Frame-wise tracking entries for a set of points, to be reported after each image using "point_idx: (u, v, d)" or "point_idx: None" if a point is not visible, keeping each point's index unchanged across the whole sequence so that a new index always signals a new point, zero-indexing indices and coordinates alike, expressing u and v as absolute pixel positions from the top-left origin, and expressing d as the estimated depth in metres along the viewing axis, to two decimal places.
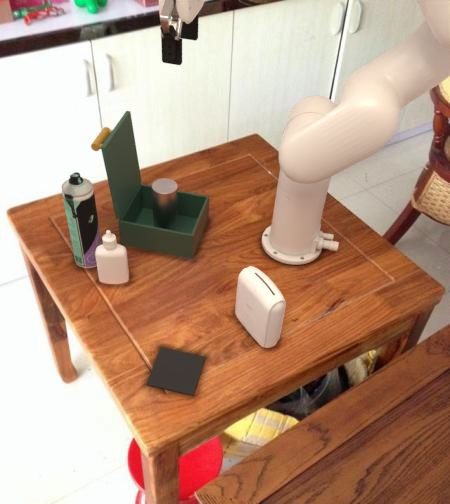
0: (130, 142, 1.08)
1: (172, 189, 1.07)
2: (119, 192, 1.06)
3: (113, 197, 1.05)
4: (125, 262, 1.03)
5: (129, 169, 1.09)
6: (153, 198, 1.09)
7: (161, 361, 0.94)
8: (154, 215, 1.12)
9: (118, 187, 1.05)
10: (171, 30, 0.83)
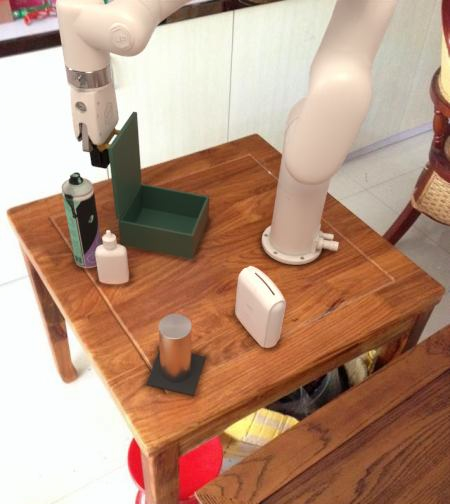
0: (134, 143, 1.08)
1: (185, 332, 0.84)
2: (121, 192, 1.06)
3: (115, 197, 1.05)
4: (125, 262, 1.03)
5: (132, 170, 1.09)
6: (160, 340, 0.86)
7: None
8: (161, 357, 0.89)
9: (121, 188, 1.05)
10: (94, 146, 1.01)
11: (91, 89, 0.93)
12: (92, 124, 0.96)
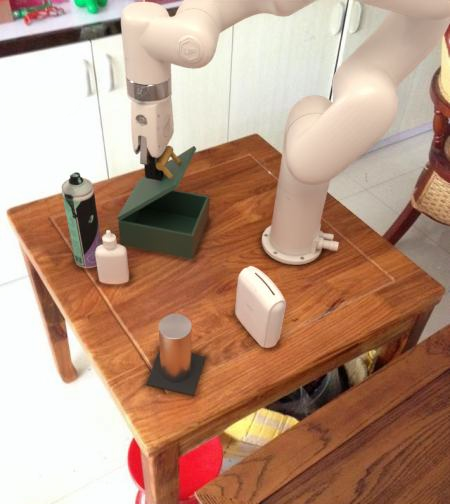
0: None
1: (185, 332, 0.84)
2: None
3: (136, 209, 1.05)
4: (125, 262, 1.03)
5: None
6: (160, 340, 0.86)
7: None
8: (161, 357, 0.89)
9: None
10: (151, 158, 1.01)
11: (152, 102, 0.92)
12: (152, 137, 0.95)
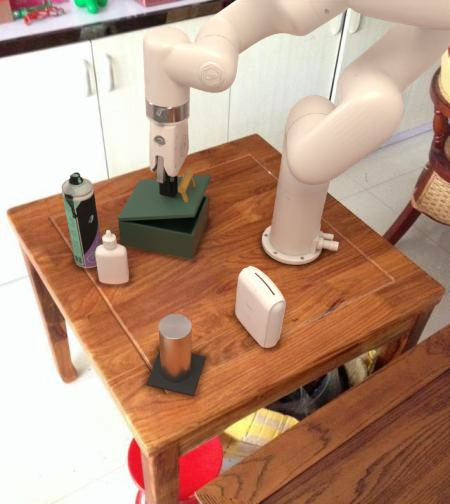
0: None
1: (185, 332, 0.84)
2: None
3: (142, 218, 1.07)
4: (125, 262, 1.03)
5: None
6: (160, 340, 0.86)
7: None
8: (161, 357, 0.89)
9: None
10: (167, 177, 1.03)
11: (171, 123, 0.94)
12: (169, 157, 0.97)
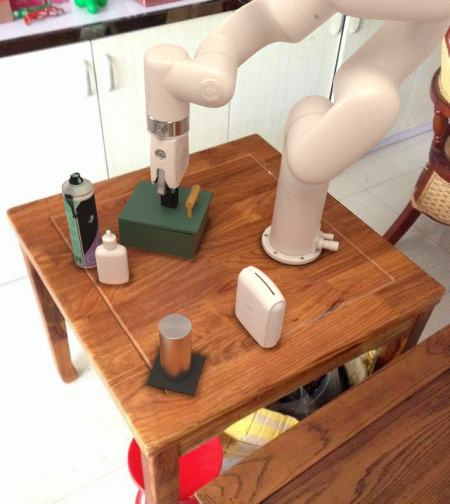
0: None
1: (185, 332, 0.84)
2: None
3: (143, 224, 1.08)
4: (125, 262, 1.03)
5: None
6: (160, 340, 0.86)
7: None
8: (161, 357, 0.89)
9: None
10: (168, 189, 1.05)
11: (171, 137, 0.96)
12: (170, 170, 0.99)
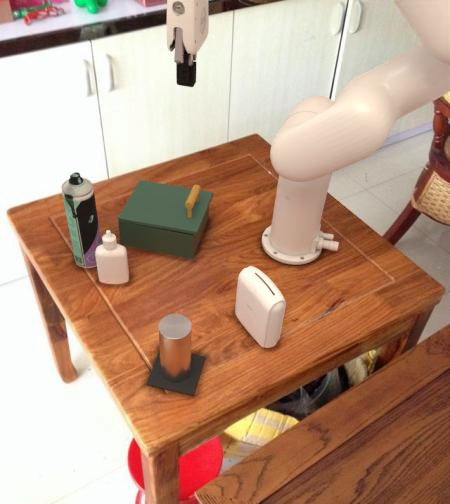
0: None
1: (185, 332, 0.84)
2: None
3: (143, 224, 1.08)
4: (125, 262, 1.03)
5: None
6: (160, 340, 0.86)
7: None
8: (161, 357, 0.89)
9: None
10: (185, 58, 0.94)
11: None
12: (188, 28, 0.89)
